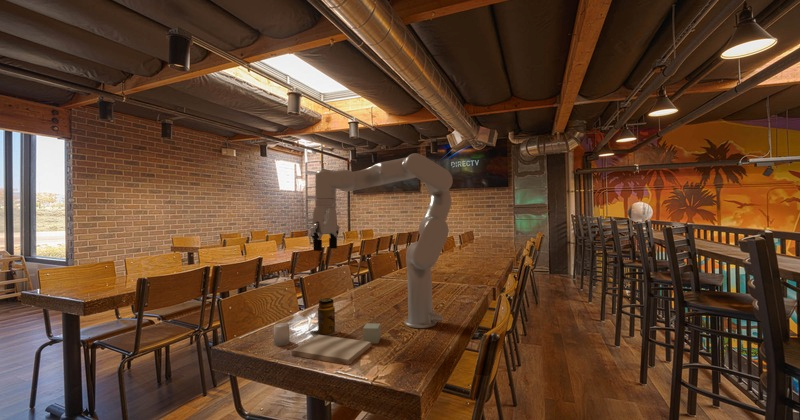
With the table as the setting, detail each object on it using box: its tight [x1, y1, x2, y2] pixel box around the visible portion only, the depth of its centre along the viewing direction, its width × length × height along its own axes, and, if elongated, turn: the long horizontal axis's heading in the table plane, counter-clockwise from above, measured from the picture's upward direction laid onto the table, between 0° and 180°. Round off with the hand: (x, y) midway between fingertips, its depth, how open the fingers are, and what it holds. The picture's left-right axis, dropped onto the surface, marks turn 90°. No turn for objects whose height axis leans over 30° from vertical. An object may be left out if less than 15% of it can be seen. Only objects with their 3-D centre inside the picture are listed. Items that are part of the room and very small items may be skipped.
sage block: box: [362, 322, 382, 344], centre depth 113 cm, size 5×5×5 cm
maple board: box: [291, 335, 372, 365], centre depth 105 cm, size 20×14×2 cm
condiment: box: [309, 297, 339, 337], centre depth 122 cm, size 7×8×12 cm
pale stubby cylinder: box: [273, 322, 291, 347], centre depth 112 cm, size 5×5×6 cm
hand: (325, 249), depth 124 cm, fingers open, 9 cm apart
